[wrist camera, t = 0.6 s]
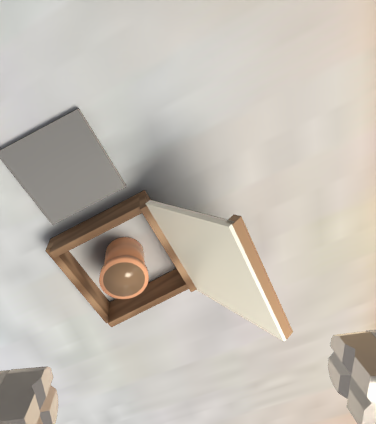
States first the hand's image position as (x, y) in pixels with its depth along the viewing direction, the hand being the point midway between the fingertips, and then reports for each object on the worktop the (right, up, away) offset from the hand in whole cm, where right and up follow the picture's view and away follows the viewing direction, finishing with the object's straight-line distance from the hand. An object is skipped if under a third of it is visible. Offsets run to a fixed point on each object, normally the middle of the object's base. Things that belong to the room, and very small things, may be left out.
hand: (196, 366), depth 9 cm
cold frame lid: (+2, -2, +30) cm, 30 cm away
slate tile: (-17, +10, +35) cm, 41 cm away
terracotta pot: (-10, -2, +42) cm, 44 cm away
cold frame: (-10, -2, +42) cm, 44 cm away
